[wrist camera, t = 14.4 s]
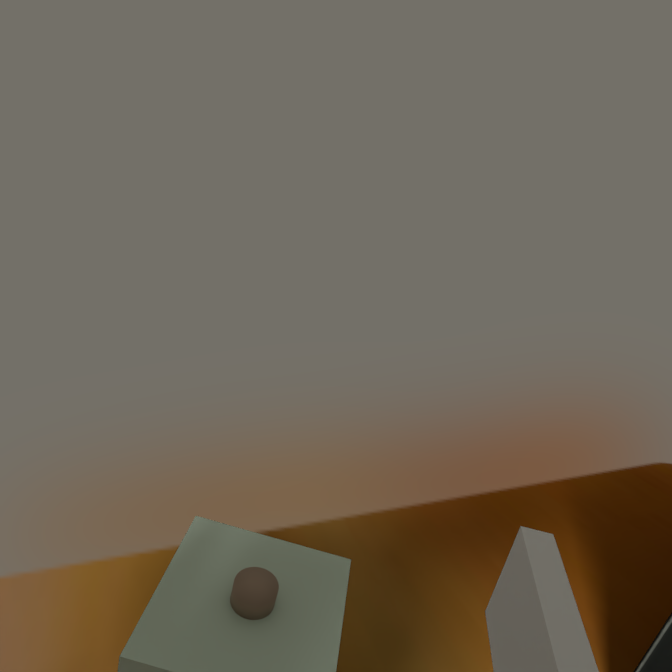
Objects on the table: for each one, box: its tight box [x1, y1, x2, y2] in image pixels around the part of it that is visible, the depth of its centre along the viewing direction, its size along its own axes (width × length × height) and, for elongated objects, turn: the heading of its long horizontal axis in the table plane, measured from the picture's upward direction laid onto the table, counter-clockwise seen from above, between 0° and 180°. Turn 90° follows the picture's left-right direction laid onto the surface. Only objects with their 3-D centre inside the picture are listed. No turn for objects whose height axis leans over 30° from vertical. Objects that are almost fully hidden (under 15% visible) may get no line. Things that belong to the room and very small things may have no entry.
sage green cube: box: [118, 516, 351, 672], centre depth 32 cm, size 10×10×11 cm
